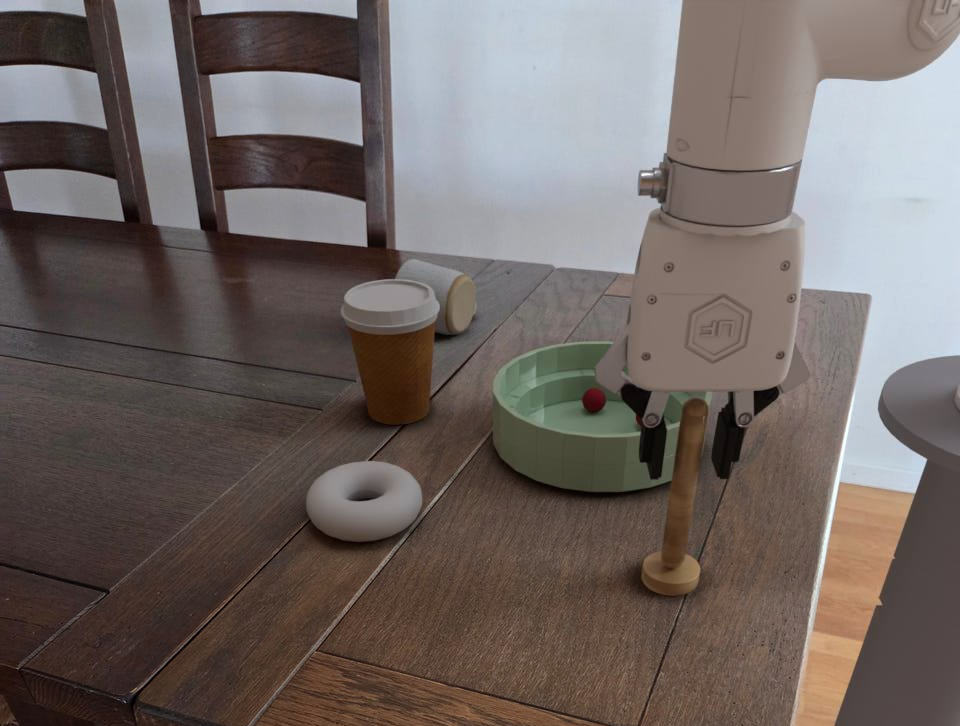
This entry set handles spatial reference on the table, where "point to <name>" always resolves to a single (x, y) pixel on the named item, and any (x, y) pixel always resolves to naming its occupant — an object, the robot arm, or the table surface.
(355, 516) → the donut
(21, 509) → the table surface
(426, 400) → the disposable coffee cup
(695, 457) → the stirrer
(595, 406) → the cherry
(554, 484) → the bowl
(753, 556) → the table surface
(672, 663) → the table surface
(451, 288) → the ceramic mug
